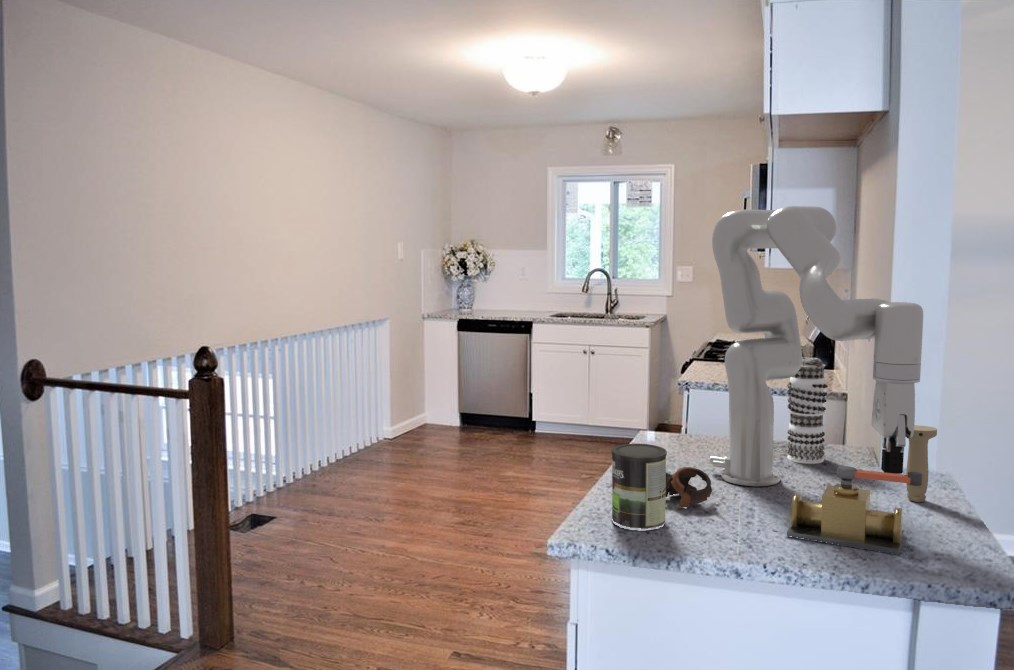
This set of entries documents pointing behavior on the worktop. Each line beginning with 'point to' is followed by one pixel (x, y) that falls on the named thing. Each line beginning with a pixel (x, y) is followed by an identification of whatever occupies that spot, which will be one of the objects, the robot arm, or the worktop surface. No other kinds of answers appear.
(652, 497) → the coffee can
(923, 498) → the handle
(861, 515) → the valve
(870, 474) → the lever
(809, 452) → the white patterned cylinder
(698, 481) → the worktop surface
